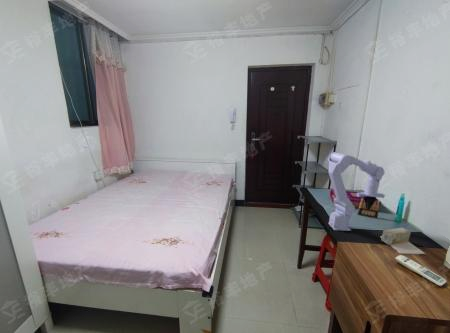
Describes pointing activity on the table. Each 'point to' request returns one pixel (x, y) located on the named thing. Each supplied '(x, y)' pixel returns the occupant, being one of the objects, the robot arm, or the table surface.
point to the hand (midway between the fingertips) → (367, 208)
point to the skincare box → (395, 236)
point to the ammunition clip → (368, 212)
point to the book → (352, 198)
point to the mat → (406, 248)
